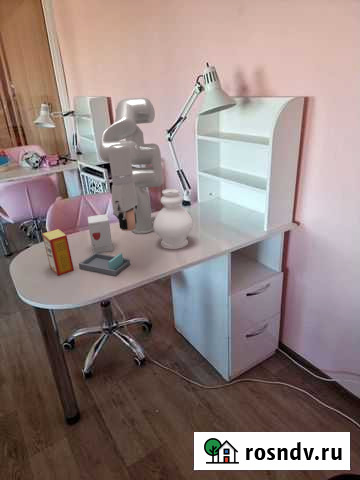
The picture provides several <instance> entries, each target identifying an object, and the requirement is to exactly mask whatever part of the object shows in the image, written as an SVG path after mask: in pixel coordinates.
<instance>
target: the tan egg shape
mask: <svg viewBox="0 0 360 480" xmlns="http://www.w3.org/2000/svg"><path fill="white" fill-rule="evenodd" d="M121 211H122V210H121ZM121 215H123V213H121ZM125 219H127V226H128V229H127V230H125V229H121V230H122V231H125V232H128V231H129V232H130V231H131V230H134V229H135V228H136V223H135V214H134V209H130V210H128V211H126V216H125Z"/></svg>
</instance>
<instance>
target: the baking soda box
mask: <svg viewBox="0 0 360 480" xmlns="http://www.w3.org/2000/svg"><path fill="white" fill-rule="evenodd" d="M41 235H42V238H43V243H44V246H45V250H46V256H47V261H48V264H49V268H50V269H51V270H52V272H54V273H55V274H56V275H57V276H58V277H59V276H62V275H65V274H68V273H71V272H73V271H75V268H74V265H73V260H72V259H73V258H72V254H71V249H70V246H69V241H68V237H67V235H66V234H65V233H64V232H63V231H61V230H60V229H59V228H57V229H52V230H49V231H47V232H46V231H45V232H42V233H41Z"/></svg>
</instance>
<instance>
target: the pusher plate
mask: <svg viewBox="0 0 360 480" xmlns="http://www.w3.org/2000/svg"><path fill="white" fill-rule="evenodd" d="M123 256H124V255H123V252H120V253H118V254H116V256H115V257H114V258H113V259H111V260H110V261H109V262H108V265H109V269H112V270H115V269H117V268H118V267H119V266H120V265H122V264H123V263H124V262H123V258H124V257H123Z"/></svg>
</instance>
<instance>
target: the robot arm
mask: <svg viewBox="0 0 360 480" xmlns="http://www.w3.org/2000/svg"><path fill="white" fill-rule="evenodd" d="M155 117H156V113H155V107H154V104H152V102H151V100H150V99H148V98H146V97H138V98H137V97H136V98H135V97H134V98H123V99H121V100H120V101H119V102H118V103H117V105H116V109H115V119H114V122H113V123H112V124H110V125H109V126H108V127H107V128H106V129H105V130H104V131H103V132H102V134H101V136H100V137H101V138H100V140H99V141H100V142H99V148H98V149H99V150H98V151H99V152H98V153H99V156H100V159H101V161H103V162H104V163H107V164H108V163H109V166H110V173H111V180H112V185H111V203H112V205H111V206H112V211H113V212H112V215H114V216H115V217H116V218H117V220H118V223H119V228H120V230H122V229H125V230H127V229H128V226H127V219H125V216H126V211H128V210H130V209H134V214H135V223H136V228H135V229H134V230H130V231H131V232H132V233H134V234H139V235H140V234H141V235H142V234H149V233H152V232H155V231H154V220H155V218H156V216H152V209H151V199H150V198H151V196H150V195H149V192H148V191H147V190H146V189H147V188H157V187H161V185H163V169H162V155H161V149H160V147H159V145H158V144H157V143H153V142H152V143H145V140H144V132H143V131H142V129H141V128H140V126H139V124H151V123H153V122H154V120H155V119H156V118H155ZM140 165H141V166H143V167H133V166H140ZM144 165H151V166H149V167H148V166H147V167H144ZM145 188H146V189H145ZM121 210H122V211H121ZM121 213H123V215H121Z"/></svg>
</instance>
